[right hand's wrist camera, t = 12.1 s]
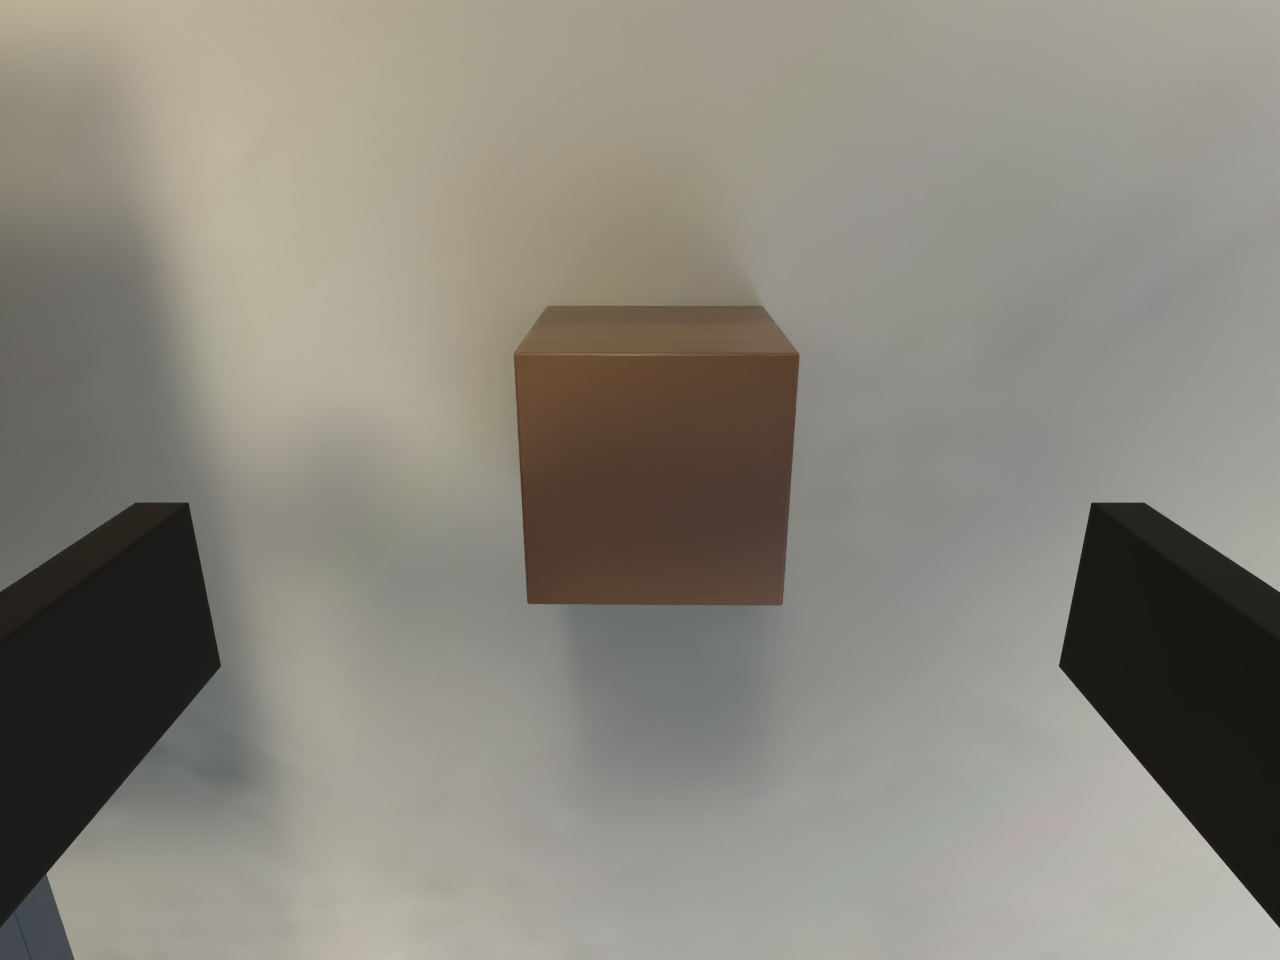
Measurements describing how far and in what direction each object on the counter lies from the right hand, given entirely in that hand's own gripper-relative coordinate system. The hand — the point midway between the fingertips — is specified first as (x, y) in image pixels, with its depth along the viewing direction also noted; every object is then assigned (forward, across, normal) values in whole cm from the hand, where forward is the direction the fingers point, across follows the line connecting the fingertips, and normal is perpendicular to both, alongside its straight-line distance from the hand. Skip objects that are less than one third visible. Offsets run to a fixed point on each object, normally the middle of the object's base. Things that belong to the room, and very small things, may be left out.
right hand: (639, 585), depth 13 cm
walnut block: (+8, 0, 0) cm, 8 cm away
